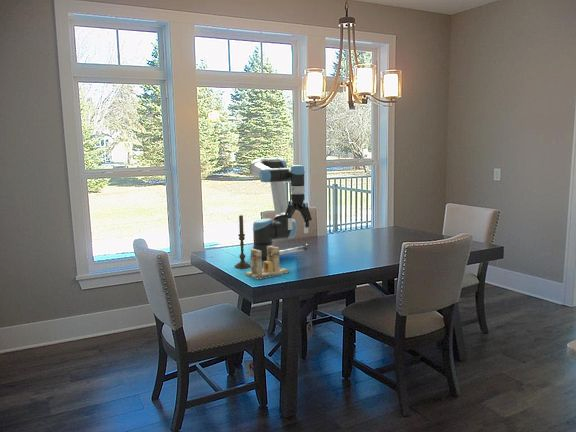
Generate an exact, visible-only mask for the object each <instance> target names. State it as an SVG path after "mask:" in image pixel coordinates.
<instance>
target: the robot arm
mask: <svg viewBox="0 0 576 432" xmlns="http://www.w3.org/2000/svg"><path fill="white" fill-rule="evenodd" d="M248 170H249V173H250V174H251V175H252V176H254V177H256V178H257V177H258V178H259V181H260V182H261V183H270V187H271V188H270V189H271V195H272V202H273V208H274V215H275V216H274V217H273V219H272V218H269V217H267V218H261V219H256V220H254V222H253V224H252V231H253V232H252V233H253V246H252V249H257V250H260V251H262V261H267V246H274V244H273V242H274V240H286V239H292V238H295V237H296V233H297V226H298V225H297V221H296V219H294V218H293V215H294V213H296V211H298V212H299V213H300V214H301V216H302V218H303V220H304V221H303V234H309V227H310V221H312V220H313V219H312V216H311V212H310V209H309V205H308V202H304V201H305V192H306V191H305V190H306V189H305V174H306V173H305V172H306V171H305V166H304V165H302V164H294V165H293V164H292V165H291V166H290V167H288V164H287V161H286V160H285V159H284V158H283V157H266V158H265V157H263V158H262V157H261V158H256V159H253V161H251V162H250V163H249V166H248ZM285 182H290V193H291V194H290V200H289V201H288V200H287V194H286V189H285Z"/></svg>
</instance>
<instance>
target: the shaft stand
mask: <svg viewBox="0 0 576 432" xmlns="http://www.w3.org/2000/svg"><path fill="white" fill-rule="evenodd" d="M279 251H280V247H279V246H274V245H273V246H267V260H268V261H272V262H273V267H274V271H272V272H267V271H264V270H263V260H262V251H260V250H257V249H253V248H251V249H250V265H251V267H250V271H246V272H245V276H247V275H249V276H248V277H250V276H252V277H251V278H253V277H255V278H254V279H256V278H258V279H259V280H261V279H260V278H264V279H266V278H265V277H268V278H270V277H269V276H272V277H275V276H274V275H276V276H280V275H279V274H281V275H284V274H283V273H285V274H287V273H288V272H289V273H290V269H287V268H284V267H282V266H280V255H279ZM271 252H272V256H273V257H271V256H270V253H271ZM267 260H266V261H267ZM289 273H288V274H289ZM258 279H257V280H258Z"/></svg>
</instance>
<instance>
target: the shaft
mask: <svg viewBox="0 0 576 432" xmlns="http://www.w3.org/2000/svg"><path fill="white" fill-rule="evenodd" d="M310 250H311V246H310V244H309V243H305V244H303V245H302V246H301V245H300V246H297V247H291V248H286V249H281V250H280V249H279V256H282V255H287V254H292V253H297V252H303V251H304V252H309V251H310ZM270 256H271V257H273V256H272V252H271V253H270Z"/></svg>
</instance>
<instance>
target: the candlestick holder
mask: <svg viewBox="0 0 576 432" xmlns="http://www.w3.org/2000/svg"><path fill="white" fill-rule="evenodd" d="M238 217H239V218H238V219H239V220H238V222H239V224H238V225H239V227H238V228H239V234H238V239H239V241H240V242H239V243H240V245H239V246H240V254H239V256H238V257H239V259H240V261H239V262H237V263H236V264H235V265H234V268H235V267H236V268H235V269H239V268H245V269H249V268H251V263H248V262H246V261H245V259H246V254H245V252H244V250H245V249H244V245H245V243H244V240H246V238H245V236H246V234H245V232H244V215H242V214H240V215H238ZM248 267H249V268H248Z"/></svg>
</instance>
